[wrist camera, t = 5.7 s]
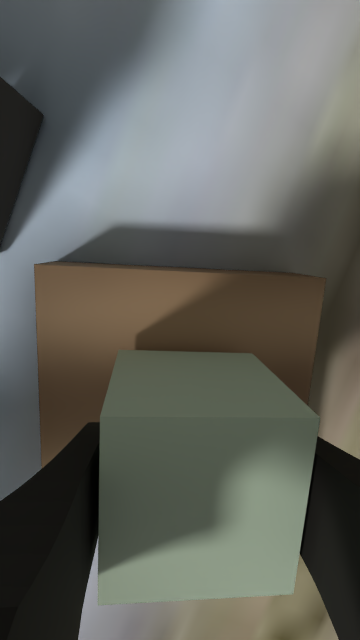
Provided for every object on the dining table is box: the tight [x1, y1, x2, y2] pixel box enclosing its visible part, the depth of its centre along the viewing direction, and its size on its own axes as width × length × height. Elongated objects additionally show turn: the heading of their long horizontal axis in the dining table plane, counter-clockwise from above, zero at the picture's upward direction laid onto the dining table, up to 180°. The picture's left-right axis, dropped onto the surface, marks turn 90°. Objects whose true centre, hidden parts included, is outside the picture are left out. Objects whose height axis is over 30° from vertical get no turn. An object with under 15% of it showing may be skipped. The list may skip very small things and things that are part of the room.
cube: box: [98, 350, 320, 605], centre depth 10 cm, size 5×5×5 cm
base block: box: [34, 261, 326, 468], centre depth 15 cm, size 11×11×3 cm
